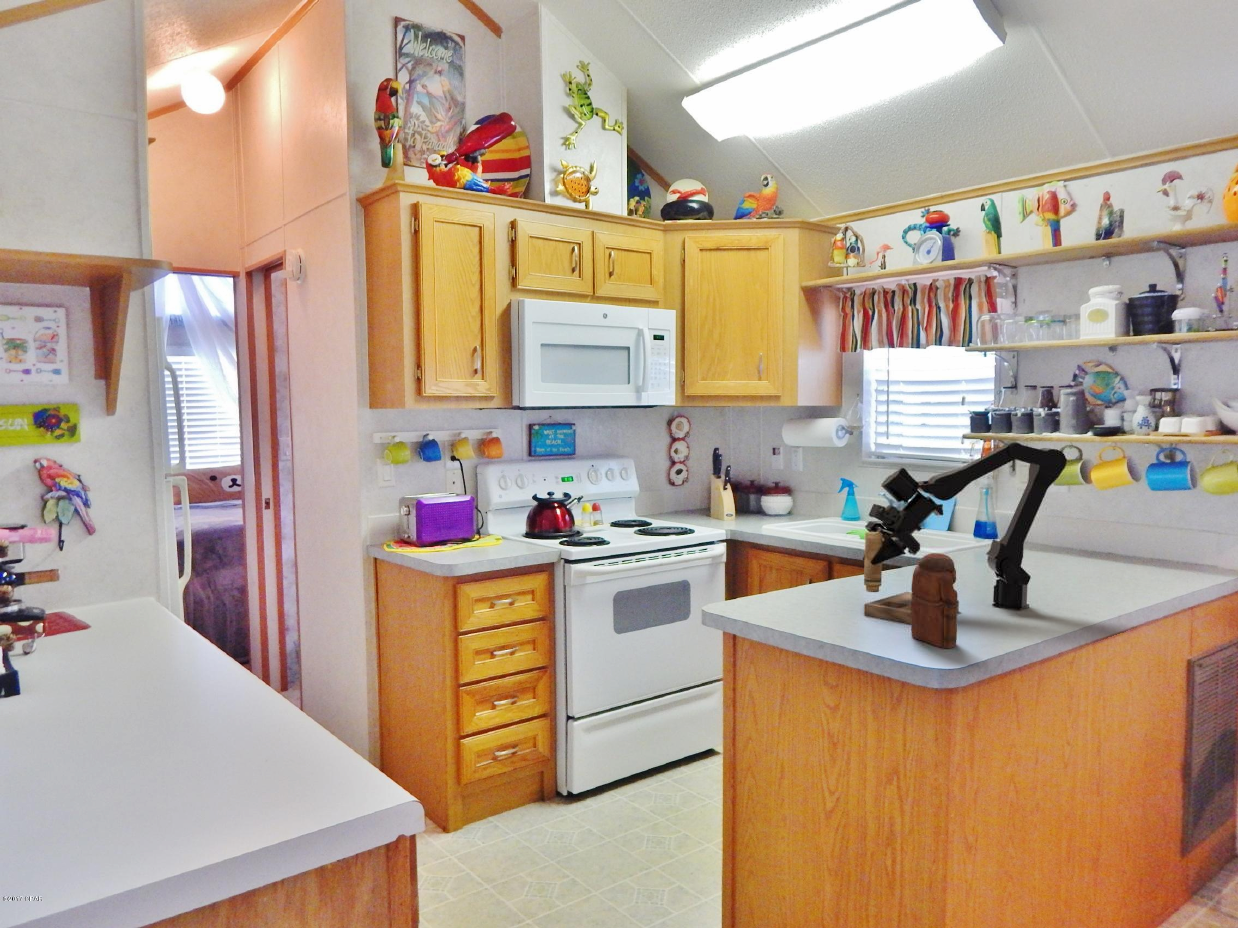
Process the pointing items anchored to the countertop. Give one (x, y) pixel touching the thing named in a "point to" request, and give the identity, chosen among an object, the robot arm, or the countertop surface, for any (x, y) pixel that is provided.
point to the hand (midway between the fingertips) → (867, 562)
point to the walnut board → (893, 608)
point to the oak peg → (870, 571)
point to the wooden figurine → (934, 601)
